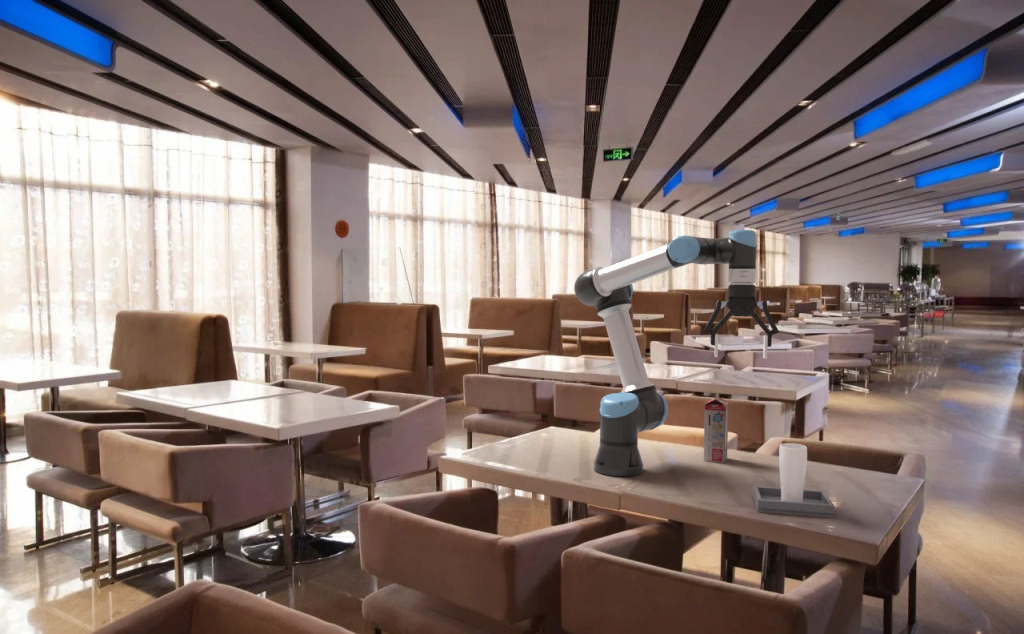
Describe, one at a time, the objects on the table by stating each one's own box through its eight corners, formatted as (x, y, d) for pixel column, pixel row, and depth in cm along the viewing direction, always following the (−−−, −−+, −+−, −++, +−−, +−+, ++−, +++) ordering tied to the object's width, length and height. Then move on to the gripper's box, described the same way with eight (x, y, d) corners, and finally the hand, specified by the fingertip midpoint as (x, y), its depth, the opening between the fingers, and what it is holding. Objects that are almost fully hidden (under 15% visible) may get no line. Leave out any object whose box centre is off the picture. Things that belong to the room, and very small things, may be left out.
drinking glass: (773, 499, 186) (774, 443, 185) (797, 498, 186) (799, 442, 185) (785, 507, 179) (786, 449, 178) (810, 506, 179) (812, 448, 179)
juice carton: (727, 458, 233) (728, 392, 232) (724, 462, 227) (726, 395, 226) (706, 456, 236) (708, 391, 235) (703, 460, 230) (705, 394, 229)
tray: (757, 511, 178) (758, 500, 178) (752, 496, 191) (753, 485, 191) (834, 517, 174) (834, 505, 174) (823, 502, 187) (824, 490, 187)
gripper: (697, 283, 201) (696, 357, 202) (790, 284, 195) (788, 360, 196) (696, 283, 208) (695, 354, 209) (786, 284, 202) (784, 357, 203)
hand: (740, 357), depth 203 cm, fingers open, 13 cm apart
